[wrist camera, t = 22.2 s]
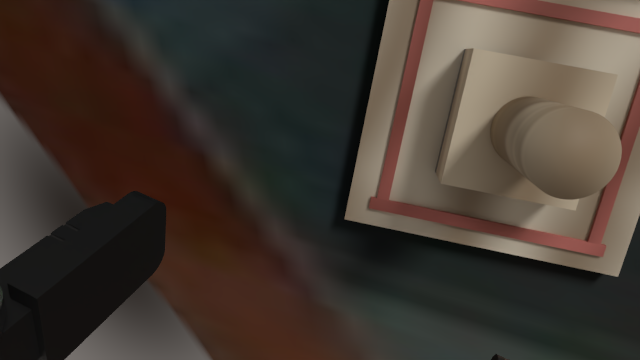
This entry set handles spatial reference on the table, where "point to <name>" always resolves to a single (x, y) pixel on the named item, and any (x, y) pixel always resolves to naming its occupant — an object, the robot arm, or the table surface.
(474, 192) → the stamping board
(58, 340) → the robot arm
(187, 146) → the table surface
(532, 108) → the stamp
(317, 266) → the table surface
